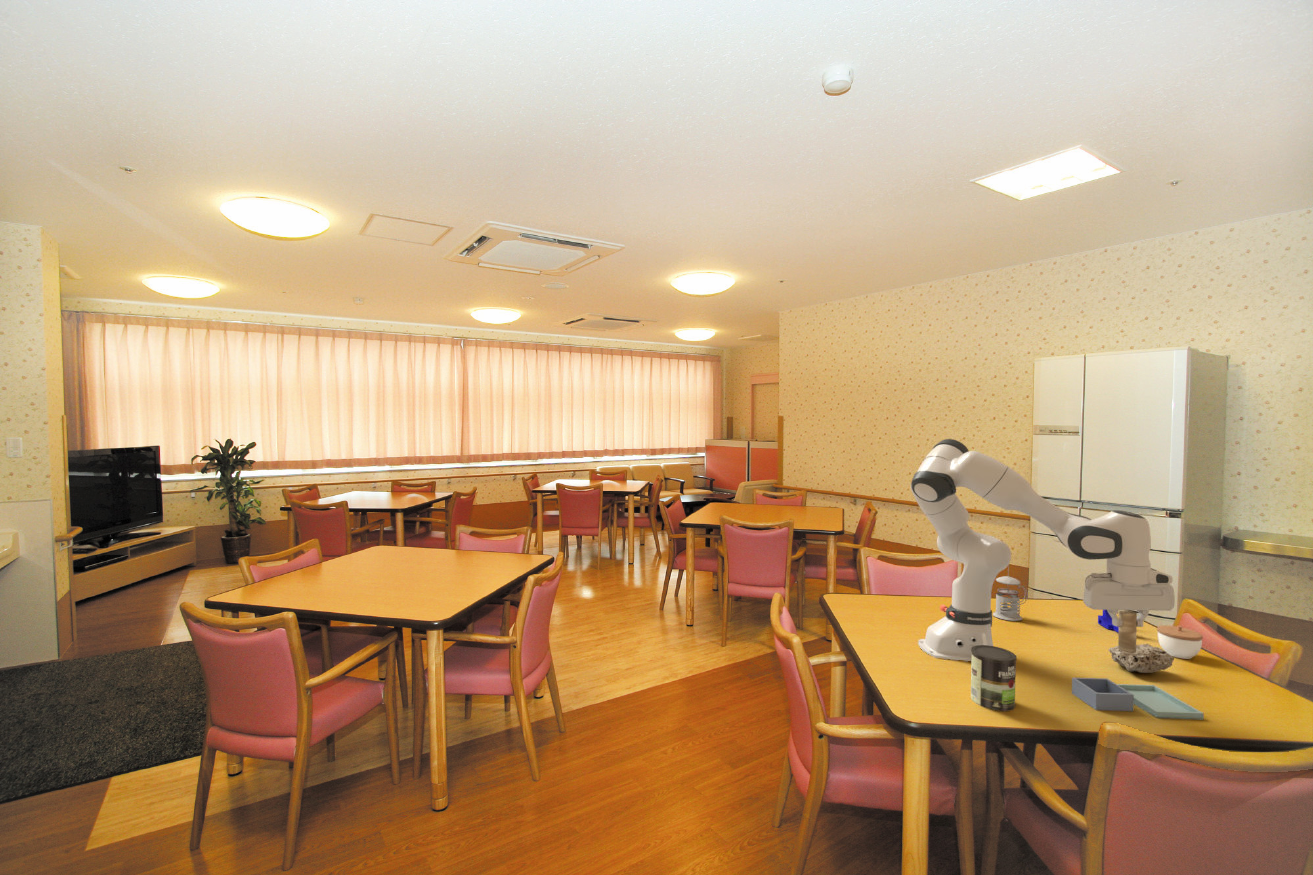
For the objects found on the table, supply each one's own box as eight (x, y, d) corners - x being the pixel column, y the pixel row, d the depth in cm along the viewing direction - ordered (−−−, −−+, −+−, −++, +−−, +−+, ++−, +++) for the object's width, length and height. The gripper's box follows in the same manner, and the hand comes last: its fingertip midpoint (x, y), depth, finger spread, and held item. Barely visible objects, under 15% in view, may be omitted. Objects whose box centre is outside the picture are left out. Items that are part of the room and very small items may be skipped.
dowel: (1124, 652, 147) (1125, 614, 147) (1115, 647, 151) (1115, 609, 151) (1139, 652, 147) (1140, 614, 147) (1129, 647, 151) (1129, 609, 150)
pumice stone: (1156, 666, 174) (1157, 640, 174) (1182, 683, 163) (1183, 656, 163) (1104, 661, 177) (1104, 636, 177) (1126, 678, 166) (1126, 651, 166)
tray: (1156, 720, 143) (1156, 711, 143) (1111, 691, 158) (1111, 683, 158) (1203, 721, 142) (1203, 713, 142) (1153, 692, 157) (1154, 685, 157)
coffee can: (1024, 710, 148) (1025, 656, 147) (997, 718, 144) (998, 663, 143) (987, 692, 157) (988, 642, 157) (961, 700, 153) (962, 648, 153)
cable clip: (1097, 623, 212) (1098, 607, 212) (1111, 624, 211) (1111, 608, 211) (1118, 635, 200) (1118, 618, 200) (1132, 636, 199) (1133, 619, 199)
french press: (988, 611, 224) (989, 548, 224) (1019, 612, 223) (1021, 549, 222) (999, 620, 215) (1000, 554, 214) (1032, 621, 213) (1034, 555, 212)
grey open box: (1095, 712, 146) (1096, 693, 146) (1071, 695, 156) (1072, 677, 155) (1133, 713, 146) (1133, 694, 146) (1106, 696, 155) (1107, 678, 155)
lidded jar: (1201, 654, 183) (1202, 625, 183) (1202, 665, 175) (1203, 635, 175) (1157, 645, 190) (1158, 617, 190) (1155, 655, 183) (1156, 626, 182)
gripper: (1093, 576, 146) (1093, 629, 147) (1179, 577, 144) (1179, 631, 145) (1077, 569, 153) (1077, 620, 153) (1160, 570, 151) (1159, 622, 151)
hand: (1127, 625), depth 149 cm, fingers closed on dowel, 4 cm apart
